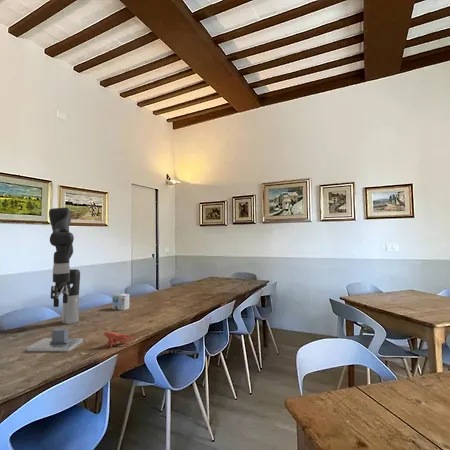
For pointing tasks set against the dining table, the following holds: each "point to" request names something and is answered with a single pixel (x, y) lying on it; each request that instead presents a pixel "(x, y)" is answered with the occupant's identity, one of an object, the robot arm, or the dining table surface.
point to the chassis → (46, 346)
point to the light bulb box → (120, 301)
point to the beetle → (117, 338)
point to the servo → (60, 336)
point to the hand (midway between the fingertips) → (60, 304)
